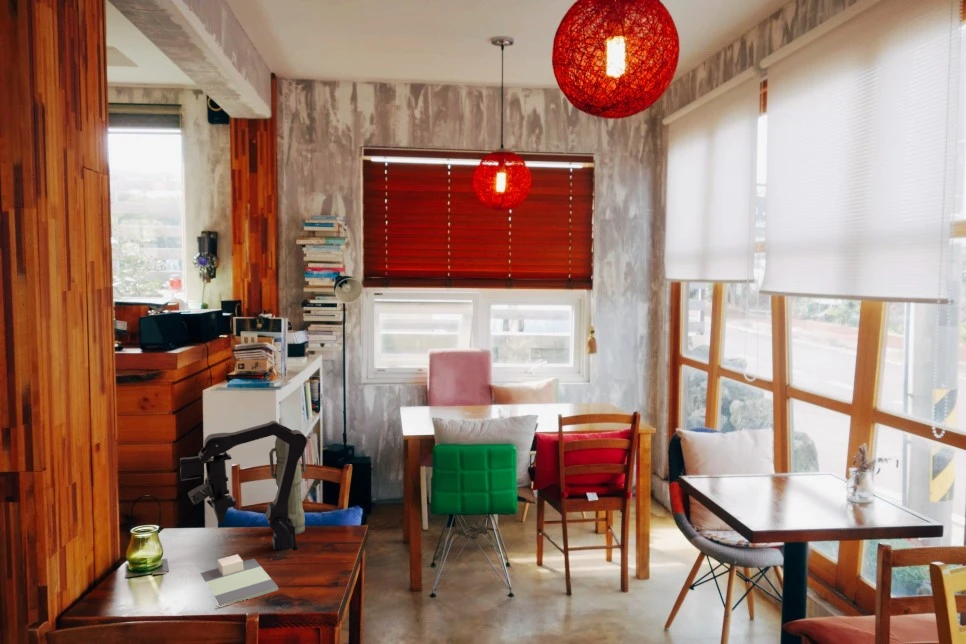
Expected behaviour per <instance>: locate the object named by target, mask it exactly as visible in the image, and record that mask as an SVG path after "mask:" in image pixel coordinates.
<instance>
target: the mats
mask: <svg viewBox="0 0 966 644" xmlns="http://www.w3.org/2000/svg"><path fill="white" fill-rule="evenodd" d="M260 566H261V565H260V564H259V562H258V561H257V560H256V559H255V558H250V559H247V560H243V569H244V570H243V571H246V570H249V569H253V568H256V567H260ZM239 572H242V571H239ZM239 572H236V573H239ZM200 574H201V576H202V577H203V580H204V581H205V583H206V582H207V581H211V580H214V579H218V578H221V577H225V576H228V575H225V576H223V575H222V574H221V572H220V571H219V569H218V568H214V569H211V570H208V571H204V572H201V573H200ZM232 574H235V573H232ZM232 574H229V575H232ZM276 587H278V588H279V586H278V585H277V583H276V582H275V581H274V580H273V579H272V578H271V579H270V580H267V581H263V582H260V583H257V584H253V585H250V586H246V587H243V588H240V589H236V590H233V591H230V592H226V593H223V594H220V595H216V596H215V595H214V597H215V599H216V600H217V602H218V604H223V603H226V602H230V601H233V600H236V599H240V598H243V597H246V596H249V595H253V594H256V593H259V592H262V591H266V590H269V589H272V588H276Z"/></svg>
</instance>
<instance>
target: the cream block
mask: <svg viewBox="0 0 966 644" xmlns="http://www.w3.org/2000/svg"><path fill="white" fill-rule="evenodd" d="M243 561H244V560H243V559H242V558H241V556H240V555H239V554H238V553H237V554H234V555H233V554H232V555H230V556H226V557H222V558H218V559H217V569H219V571H220V572H221V574H222V575H223V576H225V575H229V574H232V573H236V572H239V571H243V570H244V569H243Z"/></svg>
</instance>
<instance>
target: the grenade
mask: <svg viewBox="0 0 966 644" xmlns="http://www.w3.org/2000/svg"><path fill="white" fill-rule="evenodd" d="M274 444H275V445H274V447H272V448H271V450H270V451H269V454H268V456H269V466H270V477H272V478H273V479H275V484H276V486H277V487H278V486H279V482H280V478H281V474H282V470H283V466H284V462H285V457H286V451H285V445H286V442H284V441H283V440H281V439H279V438H278V437H276V436H275V442H274ZM305 450H306V449H305ZM305 450H304V452H303V454H302V456H301V462H300V459H299V460H298V464H297V468H296V472H295V476H294V480H293V484H292V488H291V492H290V496H289V500H288V518H290V519H291V521H292V523H293V525H294V527H295V536H296V535H299V534H301V533H304V532H305V531H306V527H305V525H306V524H305V523H306V519H305V517H306V516H305V509H303V498H302V496H303V495H302V482H303V479H302V477H303V475H304V474H306V470H307V466H306V452H305ZM274 452H275V457H276V461H275V462H276V463H275V465H274Z"/></svg>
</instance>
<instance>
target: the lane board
mask: <svg viewBox="0 0 966 644" xmlns="http://www.w3.org/2000/svg"><path fill="white" fill-rule="evenodd" d="M270 579H272V578H271V577H270V576H269V574H268V573H267V572H266V571H265V570H264V568H263V567H262V566H261V565H260V567H256V568H253V569H249V570H246V571H242V572H239V573H235V574H232V575H228V576H225V577H221V578H218V579H214V580H211V581H207V582H206V581H205V583H206V584H207V585H208V587H209V589H210V590H211V592H212V594H213V595H214V597H215V596H216V595H220V594H223V593H226V592H230V591H233V590H236V589H240V588H243V587H246V586H250V585H253V584H257V583H260V582H263V581H267V580H270ZM277 591H279V586H278V587H276V588H272V589H269V590H266V591H262V592H259V593H256V594H253V595H249V596H246V597H243V598H240V599H236V600H233V601H230V602H226V603H223V604H220V603H218V604H219V605H220V606H222V605H224V604H228V603H233V602H237V601H241V602H243V601H242V600H244V601H247V600H246V599H248V600H251V599H254V598H257V597H261V596H264V595H266V594H270V593H273V592H277ZM219 605H218V606H219ZM220 606H219V607H220Z"/></svg>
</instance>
